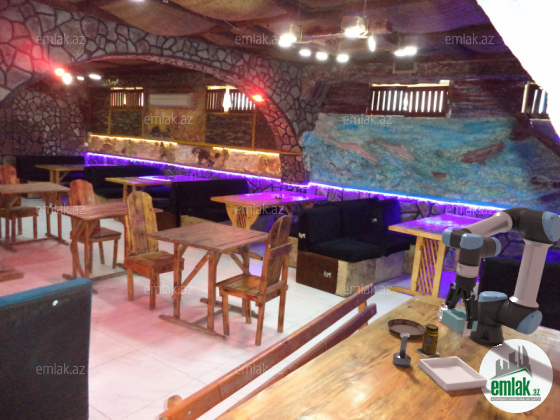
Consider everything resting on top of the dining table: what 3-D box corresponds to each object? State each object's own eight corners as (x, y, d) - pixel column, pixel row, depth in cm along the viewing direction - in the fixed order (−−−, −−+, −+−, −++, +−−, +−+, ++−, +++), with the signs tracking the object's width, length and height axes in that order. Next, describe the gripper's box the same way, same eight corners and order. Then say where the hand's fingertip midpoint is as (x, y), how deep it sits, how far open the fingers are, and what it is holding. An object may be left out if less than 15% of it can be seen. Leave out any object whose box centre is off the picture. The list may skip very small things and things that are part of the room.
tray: (455, 362, 186) (456, 356, 186) (486, 387, 169) (487, 379, 169) (418, 366, 181) (419, 359, 180) (445, 391, 164) (447, 384, 163)
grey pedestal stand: (404, 358, 186) (408, 329, 184) (413, 367, 180) (417, 337, 177) (389, 359, 184) (393, 330, 182) (398, 368, 178) (402, 338, 175)
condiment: (440, 354, 193) (444, 328, 191) (427, 358, 188) (431, 331, 186) (426, 346, 199) (430, 321, 197) (413, 350, 194) (417, 324, 192)
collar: (460, 320, 177) (462, 309, 176) (476, 331, 168) (478, 318, 168) (441, 322, 174) (442, 310, 174) (456, 332, 166) (458, 319, 165)
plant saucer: (381, 332, 210) (382, 326, 209) (393, 320, 225) (393, 315, 224) (419, 344, 201) (420, 338, 200) (428, 331, 216) (429, 325, 215)
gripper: (440, 265, 177) (432, 318, 181) (478, 284, 156) (468, 344, 160) (456, 265, 179) (448, 317, 183) (495, 284, 159) (485, 342, 163)
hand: (457, 330), depth 172 cm, fingers closed on collar, 9 cm apart
